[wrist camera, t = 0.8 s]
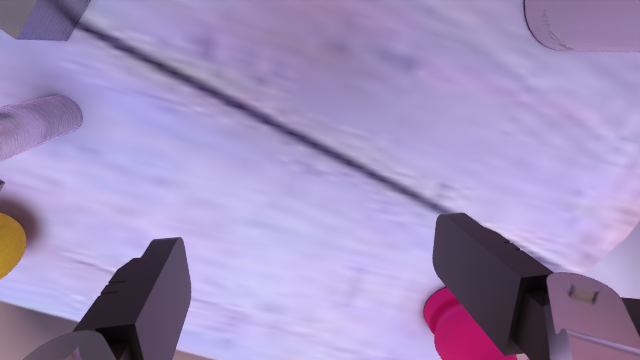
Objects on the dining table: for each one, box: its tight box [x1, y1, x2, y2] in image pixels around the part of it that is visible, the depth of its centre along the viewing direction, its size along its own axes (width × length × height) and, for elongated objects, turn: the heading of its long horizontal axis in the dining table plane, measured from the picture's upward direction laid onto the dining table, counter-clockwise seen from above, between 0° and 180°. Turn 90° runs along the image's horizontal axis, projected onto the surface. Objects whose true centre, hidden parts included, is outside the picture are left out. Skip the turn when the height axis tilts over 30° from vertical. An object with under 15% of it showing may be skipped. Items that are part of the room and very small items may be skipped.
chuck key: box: [0, 95, 82, 190], centre depth 20 cm, size 3×6×12 cm, turn 50°
